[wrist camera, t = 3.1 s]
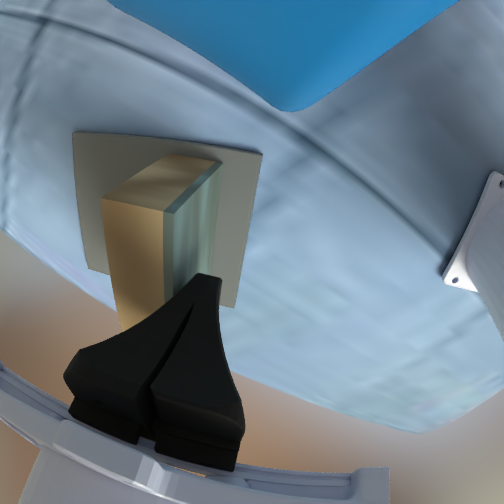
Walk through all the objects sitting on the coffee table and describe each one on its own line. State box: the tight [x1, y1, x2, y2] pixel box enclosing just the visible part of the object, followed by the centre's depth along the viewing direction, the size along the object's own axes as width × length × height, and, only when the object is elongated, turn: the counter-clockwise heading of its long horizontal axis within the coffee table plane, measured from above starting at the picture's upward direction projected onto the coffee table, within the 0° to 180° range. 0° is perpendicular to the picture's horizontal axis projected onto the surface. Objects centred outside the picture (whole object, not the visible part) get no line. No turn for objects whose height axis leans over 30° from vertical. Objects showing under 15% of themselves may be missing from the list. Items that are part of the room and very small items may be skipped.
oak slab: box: [101, 154, 224, 332], centre depth 14 cm, size 3×9×6 cm, turn 171°
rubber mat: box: [72, 132, 263, 308], centre depth 17 cm, size 12×10×1 cm
